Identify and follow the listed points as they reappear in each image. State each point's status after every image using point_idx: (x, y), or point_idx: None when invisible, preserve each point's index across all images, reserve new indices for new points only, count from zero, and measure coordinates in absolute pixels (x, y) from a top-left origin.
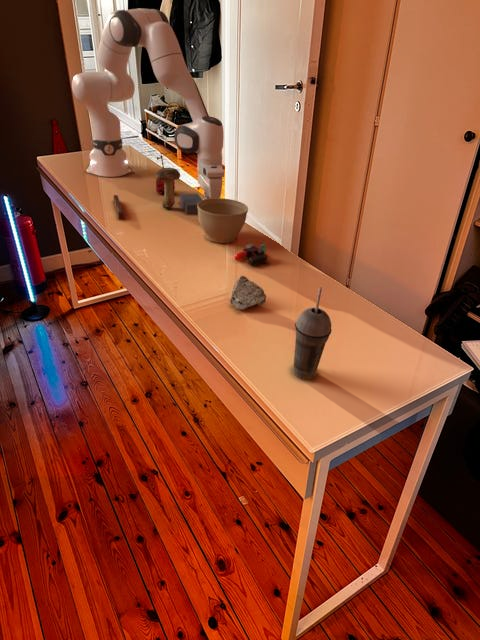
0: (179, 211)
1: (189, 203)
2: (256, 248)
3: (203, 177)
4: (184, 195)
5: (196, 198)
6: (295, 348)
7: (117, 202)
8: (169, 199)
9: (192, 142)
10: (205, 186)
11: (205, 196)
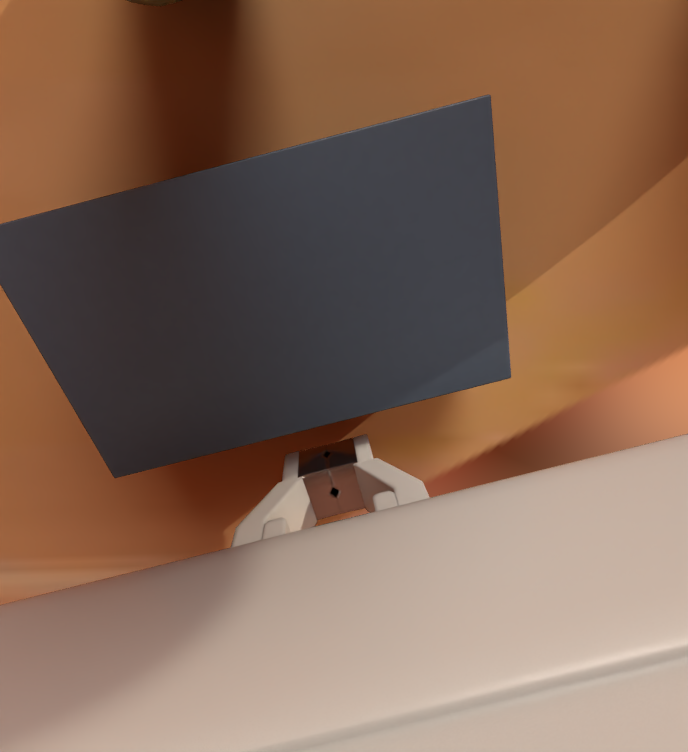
0: (133, 129)
1: (58, 272)
2: None
3: (500, 749)
4: (420, 181)
5: (313, 365)
6: None
7: None
8: None
9: None
10: (189, 653)
11: (361, 476)
